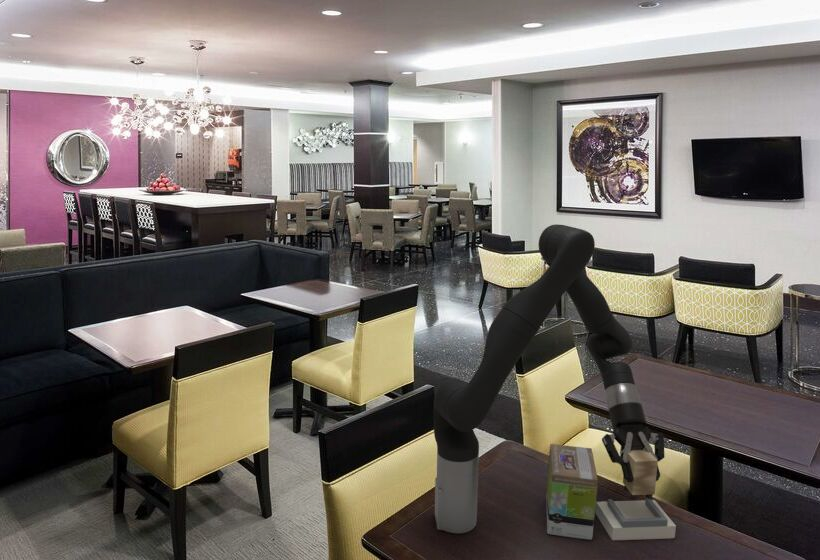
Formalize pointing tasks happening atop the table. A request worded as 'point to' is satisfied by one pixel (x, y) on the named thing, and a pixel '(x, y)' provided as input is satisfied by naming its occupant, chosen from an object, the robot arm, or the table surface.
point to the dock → (635, 520)
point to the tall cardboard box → (642, 474)
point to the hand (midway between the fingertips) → (643, 480)
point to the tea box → (571, 491)
